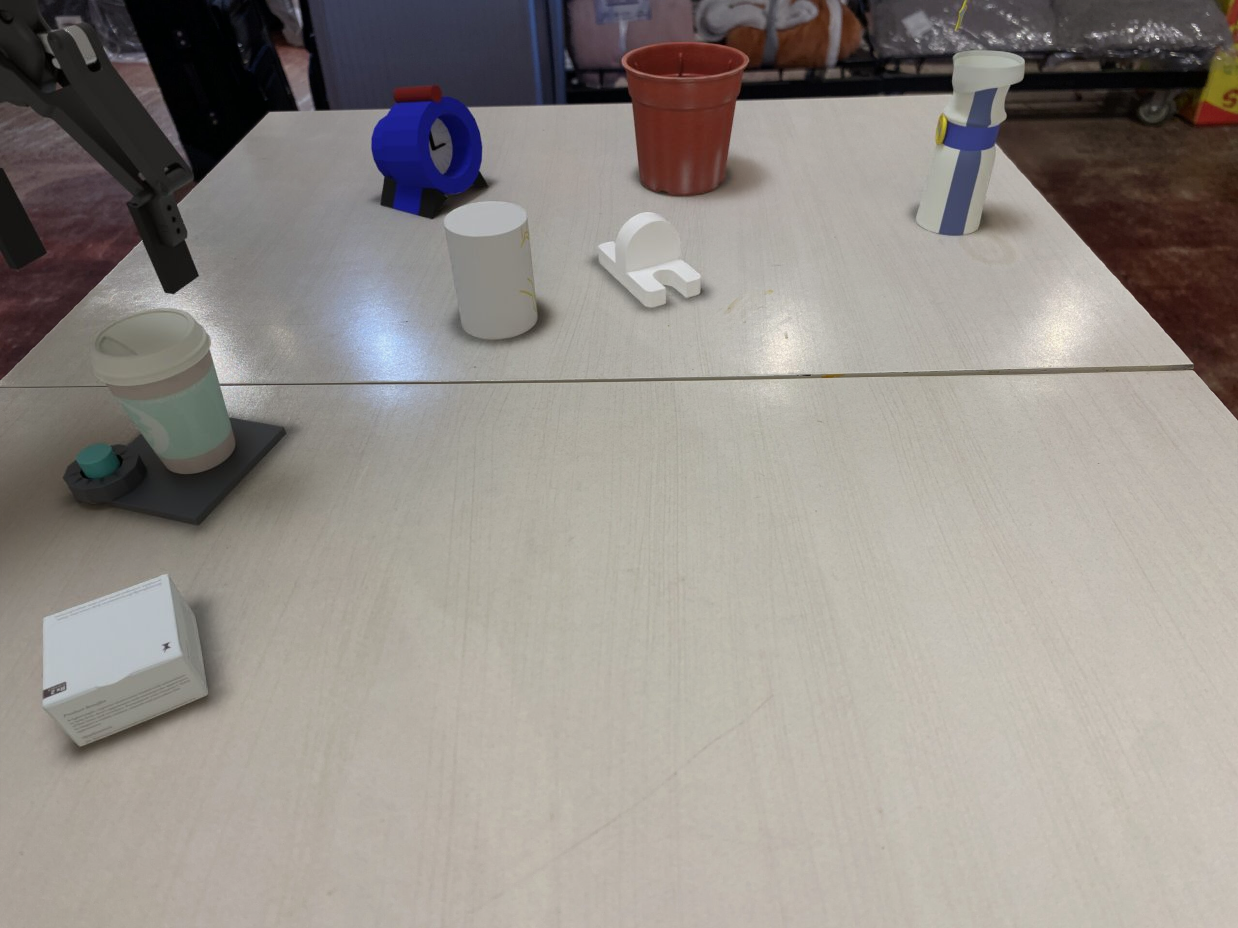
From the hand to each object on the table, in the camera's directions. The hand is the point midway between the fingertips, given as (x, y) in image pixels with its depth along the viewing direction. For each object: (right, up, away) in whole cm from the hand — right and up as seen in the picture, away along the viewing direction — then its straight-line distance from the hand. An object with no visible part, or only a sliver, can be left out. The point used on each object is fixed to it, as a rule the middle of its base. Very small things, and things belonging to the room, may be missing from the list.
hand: (104, 273), depth 59 cm
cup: (+25, +1, +28) cm, 38 cm away
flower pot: (+46, +27, +57) cm, 78 cm away
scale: (0, -14, +11) cm, 18 cm away
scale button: (-5, -14, +7) cm, 17 cm away
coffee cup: (+1, -13, +11) cm, 17 cm away
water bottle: (+79, +17, +44) cm, 92 cm away
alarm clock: (+11, +24, +55) cm, 61 cm away
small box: (+6, -29, -5) cm, 30 cm away
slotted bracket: (+41, +7, +35) cm, 54 cm away
